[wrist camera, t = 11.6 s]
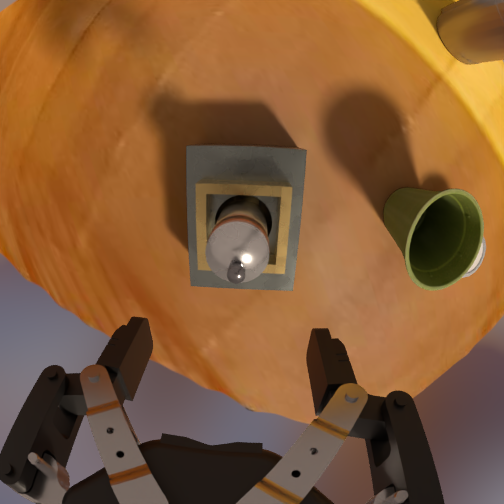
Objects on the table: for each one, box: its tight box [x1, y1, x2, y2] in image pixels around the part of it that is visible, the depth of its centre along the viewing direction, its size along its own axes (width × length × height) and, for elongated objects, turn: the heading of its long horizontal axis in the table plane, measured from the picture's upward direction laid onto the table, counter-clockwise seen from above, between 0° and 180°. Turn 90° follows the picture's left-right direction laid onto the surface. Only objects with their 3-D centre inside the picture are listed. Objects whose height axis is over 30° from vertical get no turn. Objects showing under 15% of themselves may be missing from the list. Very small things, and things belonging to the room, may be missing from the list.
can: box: [205, 200, 270, 284], centre depth 25 cm, size 5×5×9 cm
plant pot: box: [384, 187, 484, 290], centre depth 29 cm, size 12×12×11 cm
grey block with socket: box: [186, 144, 307, 291], centre depth 31 cm, size 16×12×8 cm
